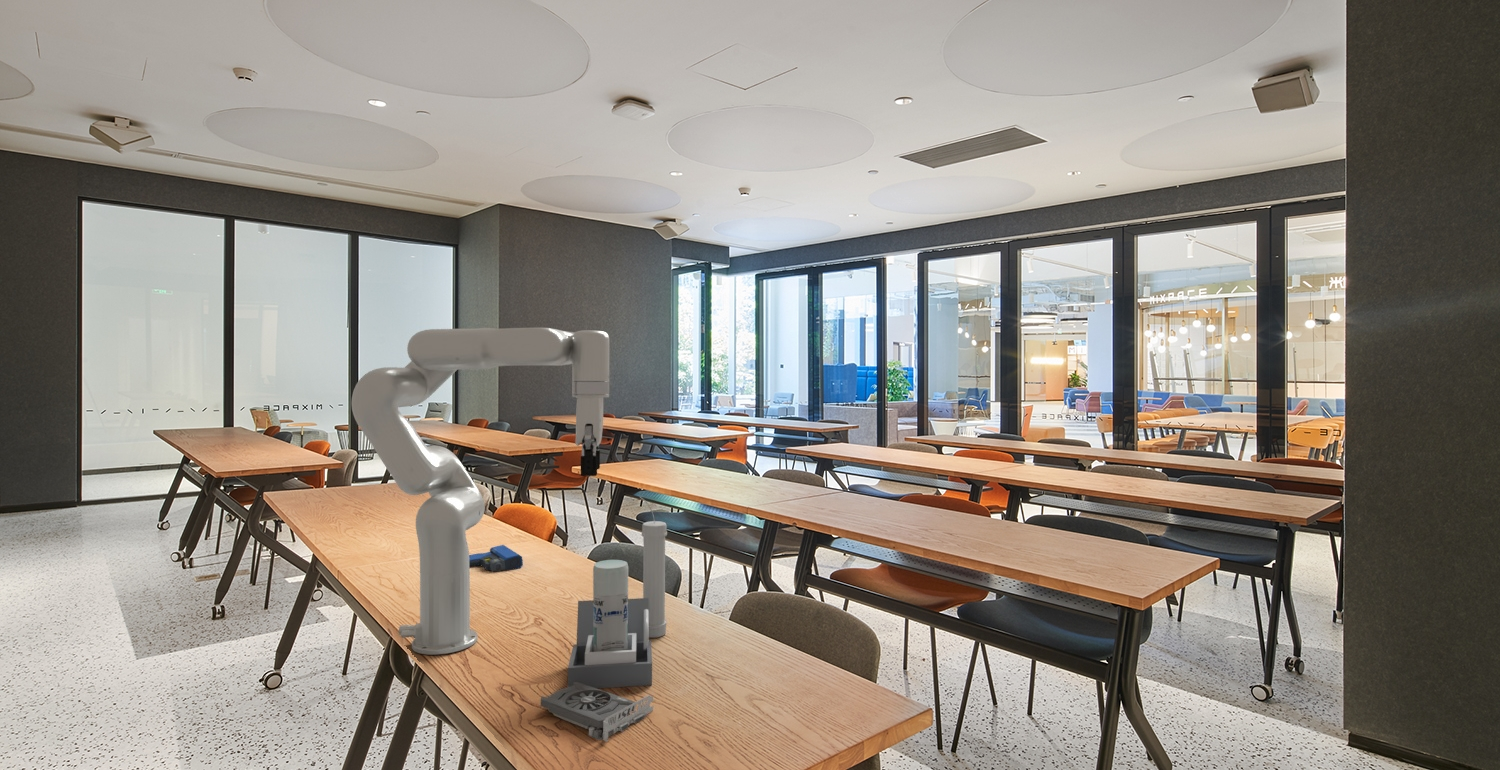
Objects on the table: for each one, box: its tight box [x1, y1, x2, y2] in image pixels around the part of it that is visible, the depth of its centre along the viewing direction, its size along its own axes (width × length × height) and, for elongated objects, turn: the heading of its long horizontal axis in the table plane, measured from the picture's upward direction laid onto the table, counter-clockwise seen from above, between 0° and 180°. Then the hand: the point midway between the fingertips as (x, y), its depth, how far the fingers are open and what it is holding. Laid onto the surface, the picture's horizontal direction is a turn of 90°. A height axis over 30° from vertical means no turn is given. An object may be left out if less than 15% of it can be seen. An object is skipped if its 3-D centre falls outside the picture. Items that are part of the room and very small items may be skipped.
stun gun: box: [469, 544, 524, 573], centre depth 207 cm, size 4×16×15 cm
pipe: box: [639, 496, 668, 639], centre depth 154 cm, size 6×6×30 cm
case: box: [567, 597, 653, 689], centre depth 136 cm, size 15×16×11 cm
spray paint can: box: [592, 559, 629, 652], centre depth 133 cm, size 6×6×20 cm
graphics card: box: [540, 682, 654, 743], centre depth 118 cm, size 17×4×12 cm
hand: (590, 472), depth 147 cm, fingers open, 9 cm apart
